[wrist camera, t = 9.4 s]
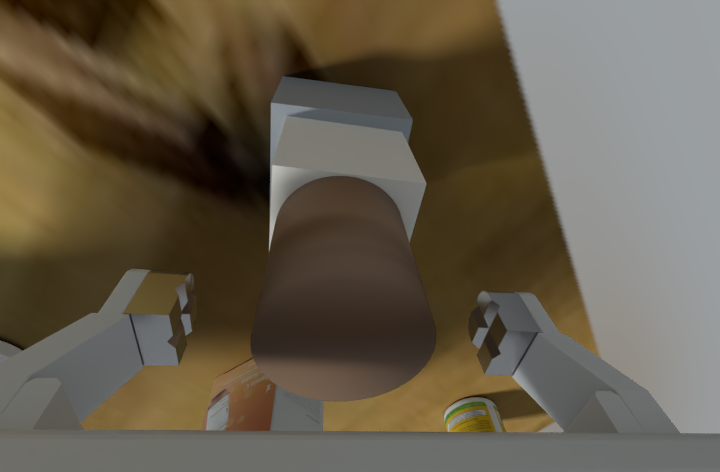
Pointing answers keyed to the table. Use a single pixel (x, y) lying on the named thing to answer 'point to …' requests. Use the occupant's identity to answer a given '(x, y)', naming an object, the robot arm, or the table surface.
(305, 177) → the top block
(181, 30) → the table surface
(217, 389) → the small box
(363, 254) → the walnut cylinder
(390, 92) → the base block
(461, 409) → the supplement bottle
